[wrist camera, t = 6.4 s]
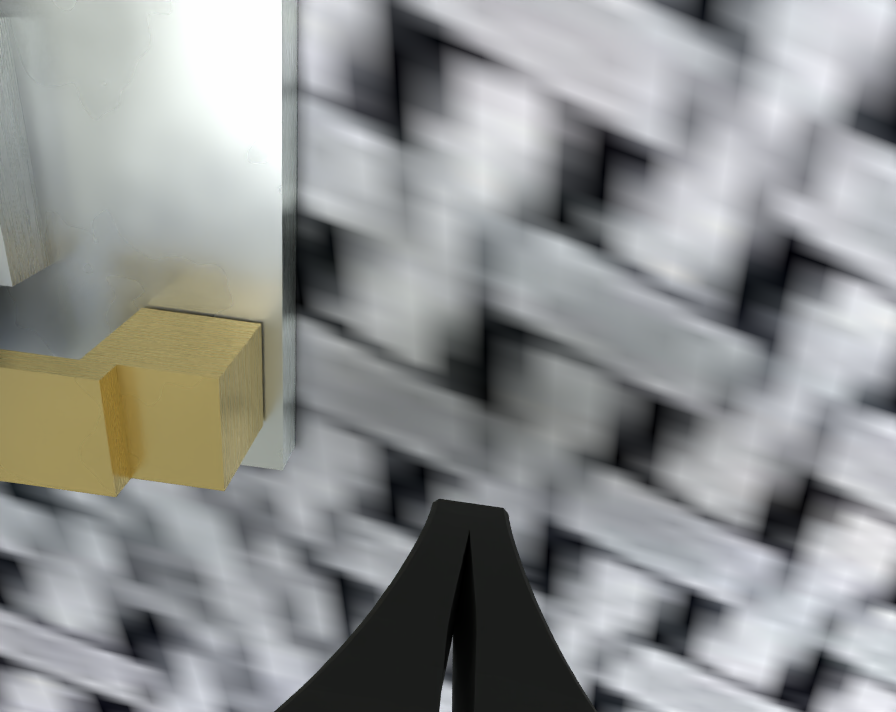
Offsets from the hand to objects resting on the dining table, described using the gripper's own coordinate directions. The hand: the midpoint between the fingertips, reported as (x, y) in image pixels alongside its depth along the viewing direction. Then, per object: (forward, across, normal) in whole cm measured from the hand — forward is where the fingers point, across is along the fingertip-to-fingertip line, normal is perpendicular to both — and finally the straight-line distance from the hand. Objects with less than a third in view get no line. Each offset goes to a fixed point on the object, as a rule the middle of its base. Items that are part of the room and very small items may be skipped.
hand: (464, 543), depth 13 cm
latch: (+5, +8, 0) cm, 10 cm away
